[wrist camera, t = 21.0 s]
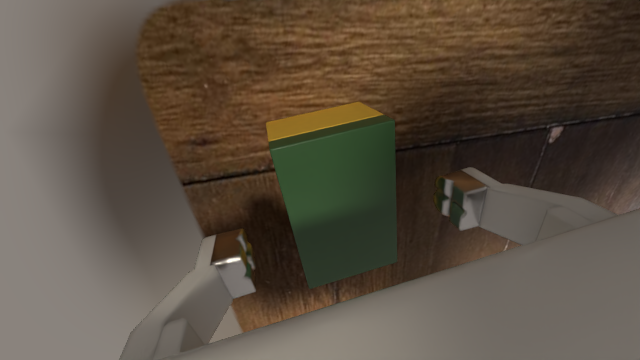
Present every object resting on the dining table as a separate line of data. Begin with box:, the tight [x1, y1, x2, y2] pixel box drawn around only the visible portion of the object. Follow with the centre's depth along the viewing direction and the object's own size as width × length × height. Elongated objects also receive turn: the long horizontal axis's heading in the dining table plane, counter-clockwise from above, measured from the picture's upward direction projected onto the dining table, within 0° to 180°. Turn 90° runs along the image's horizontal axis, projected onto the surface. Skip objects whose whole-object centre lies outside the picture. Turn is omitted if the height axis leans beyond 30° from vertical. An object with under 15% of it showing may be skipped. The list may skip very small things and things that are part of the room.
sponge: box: [266, 102, 397, 289], centre depth 13 cm, size 8×5×4 cm, turn 9°
